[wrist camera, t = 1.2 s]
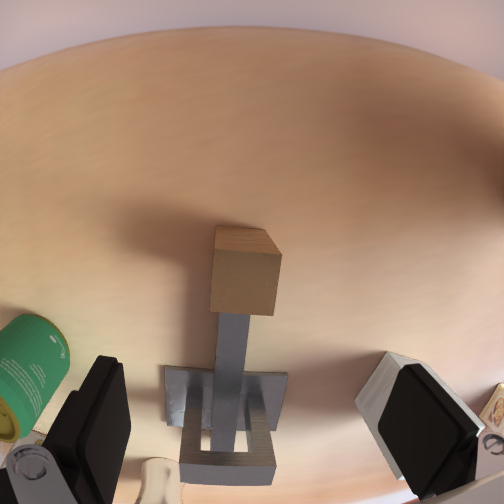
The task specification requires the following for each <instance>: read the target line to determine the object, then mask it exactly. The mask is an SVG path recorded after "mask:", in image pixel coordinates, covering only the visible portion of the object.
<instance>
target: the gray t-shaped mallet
mask: <svg viewBox="0 0 504 504" xmlns="http://www.w3.org/2000/svg"><path fill="white" fill-rule="evenodd" d="M281 258H282V254H281V253H280V251H279V250H278V248H277V247H276V245H275V244H274V242H273V241H272V240H271V238H270V237H269V235H268V234H267V232H266V231H265V230H261V229H250V228H239V227H228V226H216V236H215V246H214V257H213V269H212V282H211V296H210V310H209V312H219V318H218V331H217V344H216V358H215V372H214V387H213V403H212V420H211V438H210V451H219V452H233V451H234V443H235V435H236V427H237V419H238V411H239V403H240V395H241V387H242V379H243V371H244V363H245V355H246V346H247V338H248V330H249V322H250V315H266V316H273V314H274V307H275V300H276V293H277V286H278V279H279V272H280V265H281Z"/></svg>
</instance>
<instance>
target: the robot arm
mask: <svg viewBox="0 0 504 504" xmlns="http://www.w3.org/2000/svg"><path fill="white" fill-rule="evenodd" d="M479 430H480V428H479V427H478V426H477V425H476V424H475V423H474V422H473V420H472V419H471V418H470V417H469V416H468V415H467V414H466V413H465V411H464V410H463V409H462V408H461V407H460V406H459V405H458V404H457V403H456V401H455V400H454V399H453V398H452V397H451V396H450V395H449V394H448V393H447V392H446V391H445V389H444V388H443V387H442V386H441V385H440V384H439V383H438V382H437V381H436V380H435V379H434V378H433V376H432V375H431V374H430V373H429V372H428V371H427V370H426V369H425V368H424V367H423V366H422V365H421V364H420V363H415V364H406V365H404V366H403V368H402V369H400V370H399V372H398V375H397V377H396V380H395V383H394V385H393V388H392V390H391V393H390V396H389V398H388V401H387V403H386V405H385V408H384V410H383V413H382V415H381V417H380V420H379V422H378V432H379V434H380V435H381V437H382V439H383V441H384V442H385V444H386V446H387V448H388V450H389V451H390V453H391V455H392V457H393V458H394V460H395V462H396V464H397V465H398V467H399V469H400V471H401V473H402V474H403V476H404V478H405V480H406V482H407V483H408V485H409V487H410V489H411V491H412V492H413V494H415V495H417V496H418V498H419V499H420V501H421V502H419V503H415V504H504V435H502V434H501V433H498V432H494V431H488V432H484V433H482V434H481V436H480V437H479V438H478V437H477V436H476V435H477V433H478V431H479ZM130 432H131V420H130V414H129V408H128V401H127V394H126V387H125V379H124V370H123V364H122V363H119V362H118V361H117V358H115V357H108V356H102V355H99V356H98V357H97V359H96V360H95V362H94V364H93V366H92V367H91V369H90V371H89V373H88V374H87V376H86V378H85V380H84V382H83V383H82V385H81V387H80V389H79V391H76V390H73V391H71V393H70V394H69V396H68V397H67V399H66V401H65V403H64V404H63V406H62V408H61V410H60V412H59V413H58V415H57V417H56V419H55V421H54V423H53V424H52V426H51V428H50V430H49V432H48V434H47V436H46V438H45V440H44V441H43V443H42V445H41V446H39V445H34V444H25V445H21V446H18V447H16V448H15V449H13V450H12V451H11V452H10V453H9V455H8V456H7V460H6V467H5V468H2V469H0V504H112V502H113V498H114V494H115V489H116V485H117V481H118V477H119V473H120V469H121V465H122V462H123V458H124V454H125V450H126V447H127V443H128V439H129V436H130ZM434 494H436V496H435V497H433V498H431V497H432V496H433V495H434ZM428 498H430V499H428ZM425 499H427V500H425ZM422 500H424V501H422Z"/></svg>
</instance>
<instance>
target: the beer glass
mask: <svg viewBox="0 0 504 504" xmlns="http://www.w3.org/2000/svg"><path fill="white" fill-rule="evenodd" d="M184 485H185V483H180V471H179V463H177V462H175V461H172V460H169V459H165V458H151V459H148V460H146V461H144V462H143V463H142V465H141V486H140V490H139V493H138V495H137V498H136V500H135V502H134V504H183V489H184Z"/></svg>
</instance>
